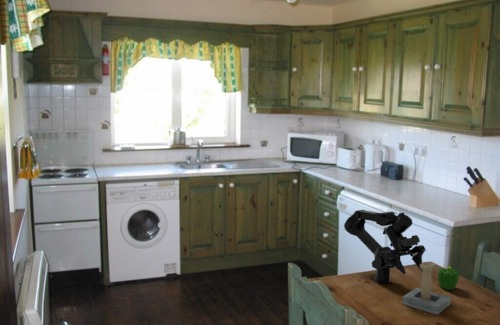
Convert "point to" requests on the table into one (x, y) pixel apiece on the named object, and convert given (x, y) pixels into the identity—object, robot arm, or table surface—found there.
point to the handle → (426, 280)
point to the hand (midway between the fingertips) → (413, 272)
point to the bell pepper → (448, 278)
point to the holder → (432, 306)
